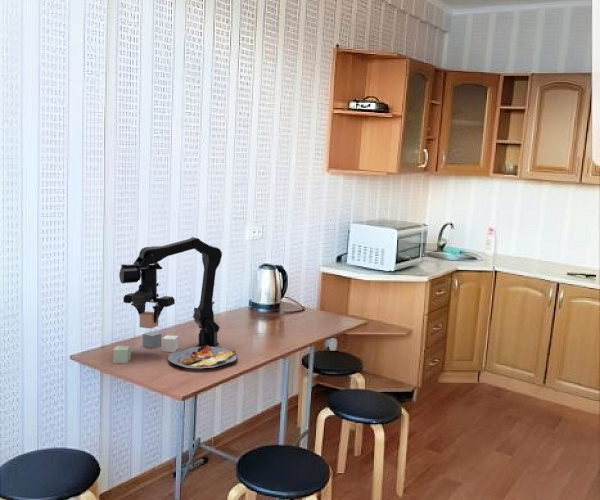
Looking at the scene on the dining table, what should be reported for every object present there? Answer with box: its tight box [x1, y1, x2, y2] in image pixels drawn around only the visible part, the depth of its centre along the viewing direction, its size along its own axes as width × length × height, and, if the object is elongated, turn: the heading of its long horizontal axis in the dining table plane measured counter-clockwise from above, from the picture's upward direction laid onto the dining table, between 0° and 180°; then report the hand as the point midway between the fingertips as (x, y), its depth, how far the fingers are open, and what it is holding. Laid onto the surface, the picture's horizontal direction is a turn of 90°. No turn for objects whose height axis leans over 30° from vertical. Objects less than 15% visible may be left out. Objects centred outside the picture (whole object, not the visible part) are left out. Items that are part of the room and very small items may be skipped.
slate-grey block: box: [142, 330, 162, 349], centre depth 244 cm, size 5×5×5 cm
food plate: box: [167, 345, 238, 370], centre depth 227 cm, size 25×23×4 cm
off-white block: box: [161, 334, 179, 353], centre depth 239 cm, size 5×5×5 cm
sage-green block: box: [112, 345, 131, 364], centre depth 224 cm, size 5×5×5 cm
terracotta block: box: [139, 310, 159, 329], centre depth 233 cm, size 5×5×5 cm
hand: (149, 322), depth 233 cm, fingers closed on terracotta block, 5 cm apart
